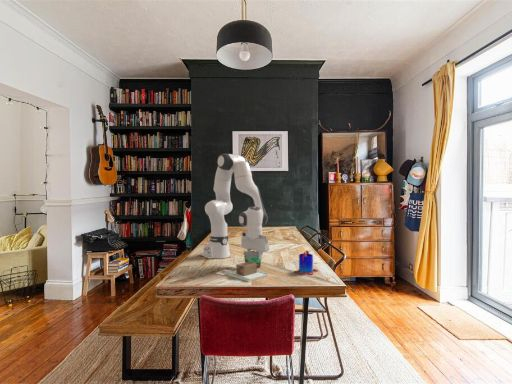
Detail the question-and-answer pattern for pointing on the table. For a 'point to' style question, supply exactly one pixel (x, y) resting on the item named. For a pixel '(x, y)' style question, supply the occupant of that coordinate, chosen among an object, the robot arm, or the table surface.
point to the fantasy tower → (306, 264)
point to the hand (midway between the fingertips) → (254, 257)
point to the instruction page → (223, 272)
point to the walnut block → (246, 268)
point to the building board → (248, 277)
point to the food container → (252, 257)
